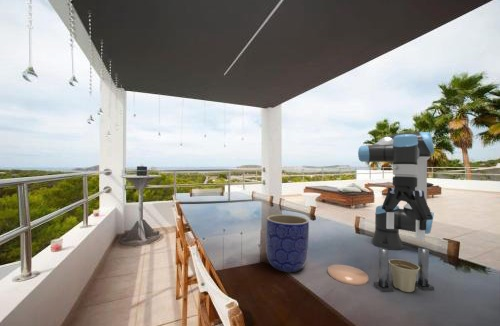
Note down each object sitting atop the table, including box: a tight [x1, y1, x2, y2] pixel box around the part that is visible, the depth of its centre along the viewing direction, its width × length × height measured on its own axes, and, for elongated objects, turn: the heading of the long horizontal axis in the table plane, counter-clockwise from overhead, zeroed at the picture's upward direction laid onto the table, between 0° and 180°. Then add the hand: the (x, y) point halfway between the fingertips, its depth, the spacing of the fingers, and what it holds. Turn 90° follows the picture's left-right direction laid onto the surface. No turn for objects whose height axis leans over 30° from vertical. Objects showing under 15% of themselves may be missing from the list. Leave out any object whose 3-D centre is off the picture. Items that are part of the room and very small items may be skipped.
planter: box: [265, 214, 310, 273], centre depth 95 cm, size 18×18×21 cm
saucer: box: [327, 264, 369, 286], centre depth 88 cm, size 15×15×1 cm
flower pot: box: [389, 258, 420, 293], centre depth 80 cm, size 9×9×9 cm
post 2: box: [415, 246, 435, 292], centre depth 81 cm, size 4×4×14 cm
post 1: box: [373, 247, 394, 293], centre depth 79 cm, size 4×4×14 cm
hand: (403, 233), depth 80 cm, fingers open, 13 cm apart
